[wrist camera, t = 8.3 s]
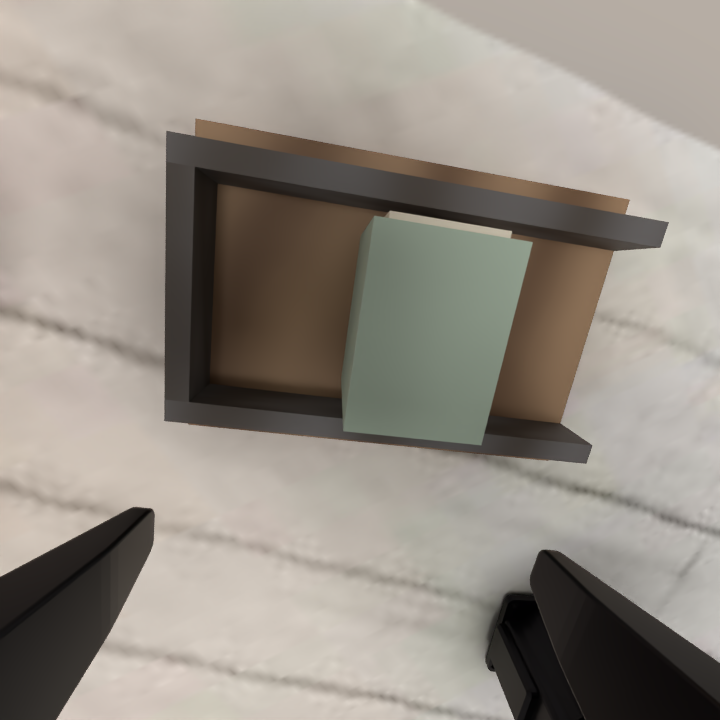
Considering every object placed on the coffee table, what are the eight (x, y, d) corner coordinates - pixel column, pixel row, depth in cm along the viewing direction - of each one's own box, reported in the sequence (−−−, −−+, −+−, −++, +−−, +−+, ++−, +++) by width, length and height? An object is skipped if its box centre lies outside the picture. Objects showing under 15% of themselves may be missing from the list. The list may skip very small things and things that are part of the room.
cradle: (610, 204, 17) (680, 187, 14) (536, 450, 21) (577, 487, 17) (206, 130, 15) (166, 87, 12) (197, 414, 19) (164, 448, 15)
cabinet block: (464, 245, 16) (535, 232, 10) (434, 389, 18) (481, 445, 12) (361, 229, 16) (375, 204, 10) (341, 378, 18) (342, 431, 12)
